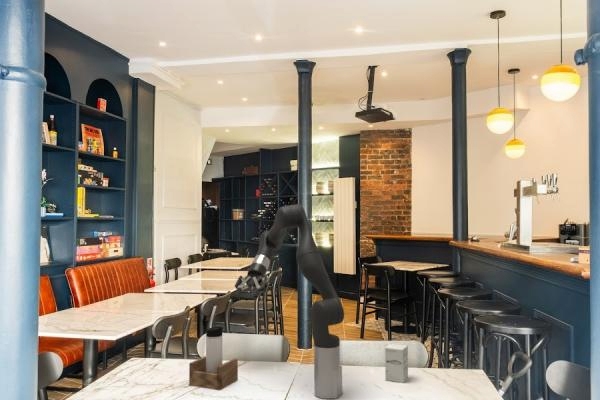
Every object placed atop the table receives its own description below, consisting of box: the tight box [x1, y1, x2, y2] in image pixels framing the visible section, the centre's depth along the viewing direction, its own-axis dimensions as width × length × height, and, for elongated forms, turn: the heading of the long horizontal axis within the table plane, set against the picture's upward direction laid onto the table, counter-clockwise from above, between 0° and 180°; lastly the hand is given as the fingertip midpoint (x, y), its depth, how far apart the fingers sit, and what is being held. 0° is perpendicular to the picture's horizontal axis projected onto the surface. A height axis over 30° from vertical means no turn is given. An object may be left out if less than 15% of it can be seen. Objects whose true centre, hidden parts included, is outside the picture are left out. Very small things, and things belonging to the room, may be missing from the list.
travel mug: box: [205, 326, 224, 374], centre depth 178 cm, size 6×7×20 cm
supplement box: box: [384, 343, 409, 384], centre depth 179 cm, size 7×7×13 cm
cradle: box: [188, 355, 239, 391], centre depth 177 cm, size 14×12×8 cm
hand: (245, 297), depth 191 cm, fingers open, 8 cm apart
